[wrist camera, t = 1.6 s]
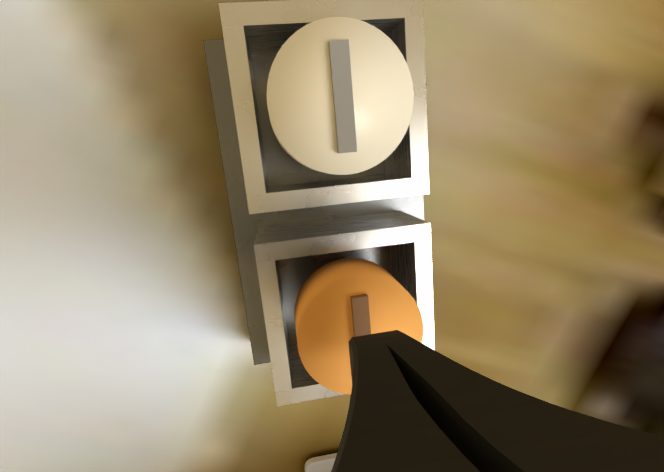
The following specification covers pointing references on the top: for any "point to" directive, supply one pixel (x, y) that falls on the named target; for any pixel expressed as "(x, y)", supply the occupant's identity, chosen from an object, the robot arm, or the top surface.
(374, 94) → the cream knob
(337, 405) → the top surface
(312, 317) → the orange knob
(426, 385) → the robot arm
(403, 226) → the knob mount
